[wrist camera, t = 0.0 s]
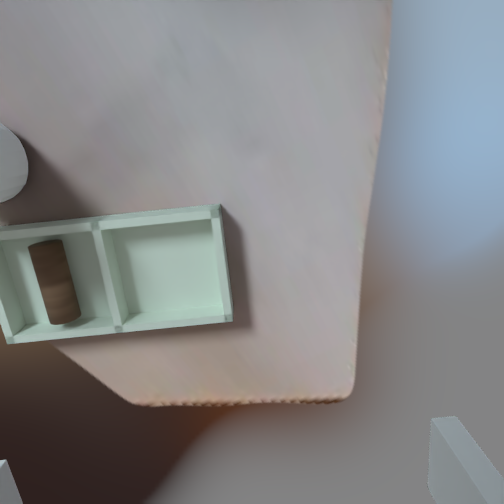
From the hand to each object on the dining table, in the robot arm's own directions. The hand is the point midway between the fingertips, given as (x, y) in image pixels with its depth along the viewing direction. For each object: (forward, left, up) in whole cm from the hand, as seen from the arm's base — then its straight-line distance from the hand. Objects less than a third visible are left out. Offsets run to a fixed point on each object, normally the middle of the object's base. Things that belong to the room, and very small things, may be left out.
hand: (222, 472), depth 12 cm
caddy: (+2, -13, -28) cm, 31 cm away
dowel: (+2, -18, -28) cm, 33 cm away
